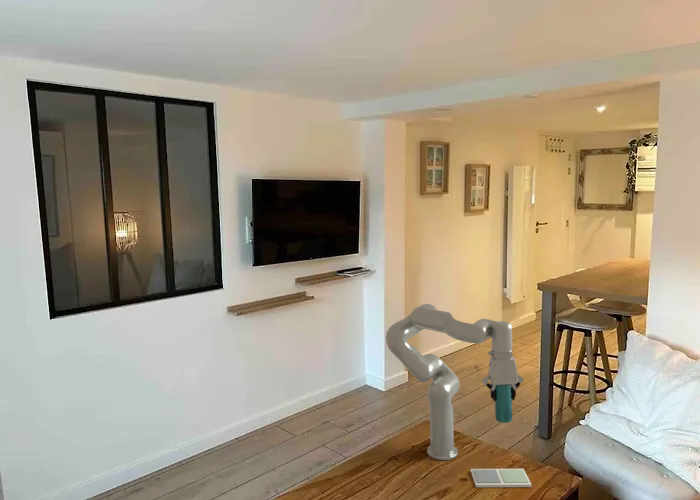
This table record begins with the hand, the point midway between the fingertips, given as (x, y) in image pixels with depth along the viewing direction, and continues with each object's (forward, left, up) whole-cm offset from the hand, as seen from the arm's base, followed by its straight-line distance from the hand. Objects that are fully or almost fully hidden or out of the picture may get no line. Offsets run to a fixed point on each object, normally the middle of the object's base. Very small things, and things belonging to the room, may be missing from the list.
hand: (503, 399), depth 200 cm
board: (+7, -6, -28) cm, 29 cm away
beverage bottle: (0, 0, -10) cm, 10 cm away
